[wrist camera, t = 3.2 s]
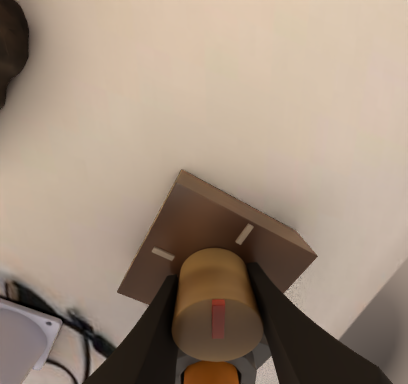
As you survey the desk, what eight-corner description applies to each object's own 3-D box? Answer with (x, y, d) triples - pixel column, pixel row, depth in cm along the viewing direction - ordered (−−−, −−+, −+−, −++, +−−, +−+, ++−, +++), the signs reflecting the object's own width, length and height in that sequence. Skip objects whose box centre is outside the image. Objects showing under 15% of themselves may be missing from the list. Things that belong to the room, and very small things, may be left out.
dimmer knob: (245, 300, 13) (261, 368, 10) (181, 301, 13) (173, 370, 10) (249, 246, 12) (271, 303, 8) (178, 247, 12) (166, 305, 8)
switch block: (147, 340, 19) (136, 385, 16) (181, 291, 17) (176, 332, 14) (232, 370, 21) (238, 416, 17) (272, 329, 19) (287, 374, 15)
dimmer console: (132, 262, 16) (115, 294, 13) (181, 169, 13) (175, 182, 10) (234, 305, 18) (240, 343, 15) (296, 231, 15) (319, 258, 12)
